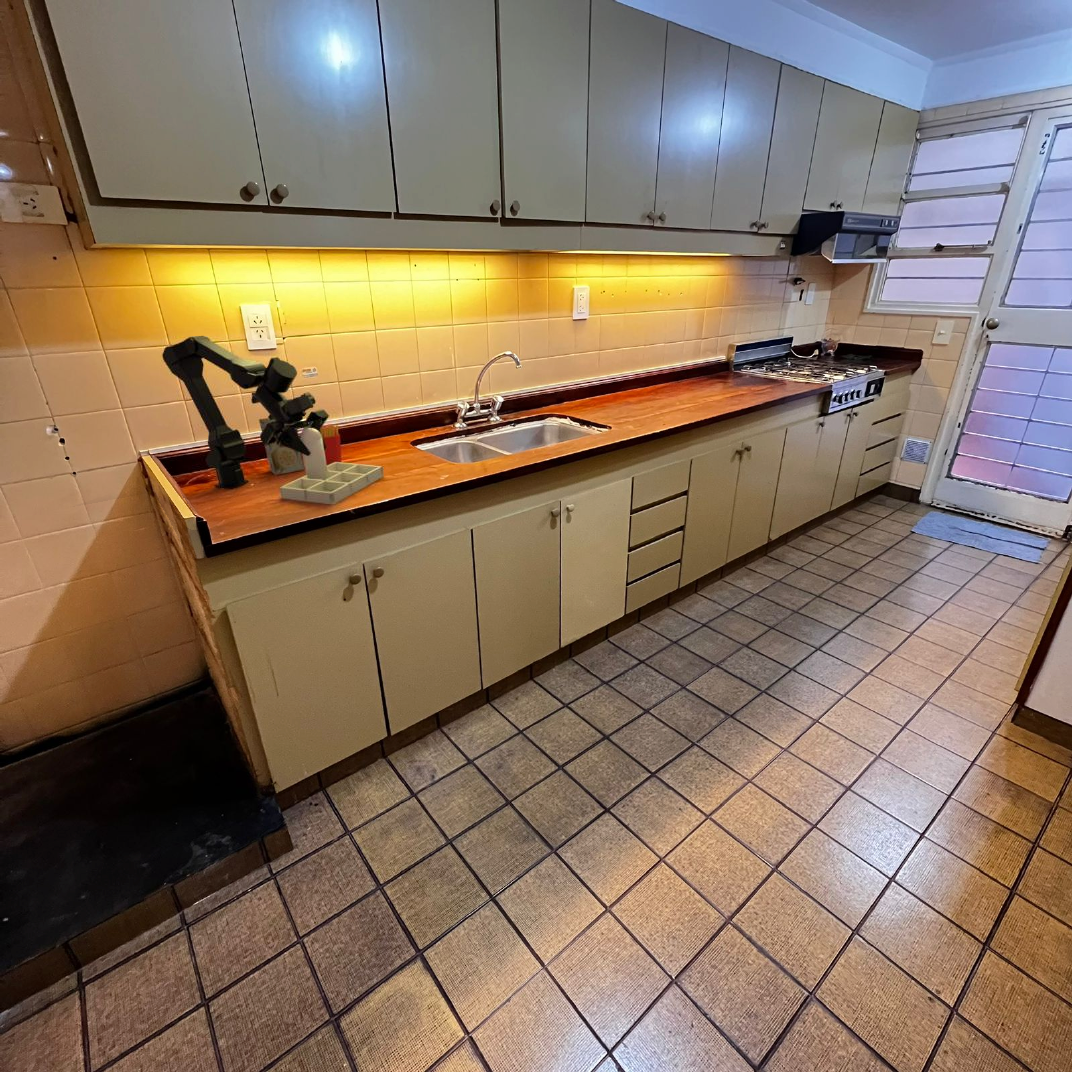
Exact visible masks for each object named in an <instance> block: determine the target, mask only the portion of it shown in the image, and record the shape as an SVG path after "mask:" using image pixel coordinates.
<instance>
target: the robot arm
mask: <svg viewBox="0 0 1072 1072" xmlns="http://www.w3.org/2000/svg"><path fill="white" fill-rule="evenodd" d="M161 357H162V360H163V361H164V363H165V365H166V366H167V368H168V370H169V371H170V372H171V374H172V375H174V376H176V377H177V379H179V380H181V381H182V382H183V383H184V386H185V388H186V389H187V392H188V393H189V397H190V398H191V400H192V401H193V404H194V405H195V407H196V409H197V412H198V413H199V415H200V418H201V419H202V422H203V423H204V425H205V427H206V429H207V431H208V436H207V437H208V438H207V446H208V447H209V452H208V454H207V456H206V458H205V459H204V460H205V462H206V464H207V467H209V468H213V469H215V474H216V478H217V481H218V483H216V484H214V487H217V488H224V489H234V488H237V487H239V486H243V485H244V484H247V483H249V482H250V481H249V479H245V475H244V472H243V468H242V466H241V463H242V462H245V461H246V452H247V450H246V449H247V448H246V444H245V443H246V442H245V440H244V439H243V437H242V435H241V432H240V431H239V430H238V429H237V428H236V429H232V428H231V427H230V426H228V424H227V422H226V420H225V418H224V416H223V413H222V412H221V410H220V408H219V406H218V404H217V402H216V400H215V397H214V395H213V394H212V392H211V390H210V387H209V386H208V384H207V381H206V380H205V378H204V374H203V372H204V361H203V359H204V360H206V361H208V362H210V363H211V364H212V365H215V366H216V367H218V368H220V369H222V370H223V371H224V372H226V373H227V374H228V375H229V376H230V380H232V381H233V382H234V383H235V384H236V385H237V386H238V387H239V388H241V389H244V390H248V389H254V388H256V390H255V391H253V392H251V403H252V404H253V405H254V404H258V403H260V404H261V406H262V407H263V408H264V410H266V411H267V413H268V417H267V418H269V419H270V420H273V419H274V420H275V422H271V423H267V424H266V426H265V427H264V429H263V431H261V433H260V434H259V438H260V441H261V442H262V443H263V445H264V446H265V445H266V446H267V445H271V444H274V443H275V441H276V438H275V437H274V436H276V437H277V439H278V441H277V445H283V446H286V447H288V448H291V449H293V450H296V451H298V452H300V453H302V455H303V454H304V455H307V456H309V455H310V451H309V450H308V448H307V447H306V446H305V445H304V443H303V442H302V441H301V440H300V436H299V435H298V436H299V437H298V436H297V434H296V431H295V430H297V431H298V430H300V429H303V430H305V429H307V428H314V429H316V430H318V431H319V432H320V433H321V431H320V429H321V428H322V426H323V427H324V426H325V423H326V421H327V420H328V419H329V417H330V415H329V414H328V412H327V411H326V410H324V409H317V410H313V411H310V412H309V414H308V416H307V417H306V418H304V417H305V416H306V415H307V412H306V411H307V410H309V409H313V408H314V407H315V406H314V405H315V404H316V401H317V400H316V399H315V397H314V395H312V393H310V392H304V393H303V394H301V395H299V396H297V397H294V398H289V399H288V398H287V397H286V396H285V395H284V393H287V392H288V391H289V389H290V388H291V386H292V384H293V382H294V380H295V378H296V377H297V376H298V375H297V374H298V370H297V369H296V367H295V366H294V365H292V364H290V363H289V362H287V361H285V360H281V359H280V358H279V356H276V357H271V358H270V359H269V362H268V364H267V366H265V365H264V364H263V363H261V362H258V361H257V360H256V361H255V360H252V359H248V358H247V359H246V358H242V357H239V356H238V355H236V354H235V353H232V352H231V351H229V350H227V349H226V348H224V347H223V346H221V345H218V344H217V343H215V342H214V341H212V340H211V339H210V338H209V337H208V336H205V335H197V336H189V337H188V338H186V339H184V340H183V341H180V342H179V343H178V342H177V343H175V344H173V345H169V346H168V345H167V346H165V347H164V349H163V352H162V356H161ZM321 435H322V434H321ZM322 440H323V437H322ZM323 446H324V450H326V445H325V442H324V440H323Z"/></svg>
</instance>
